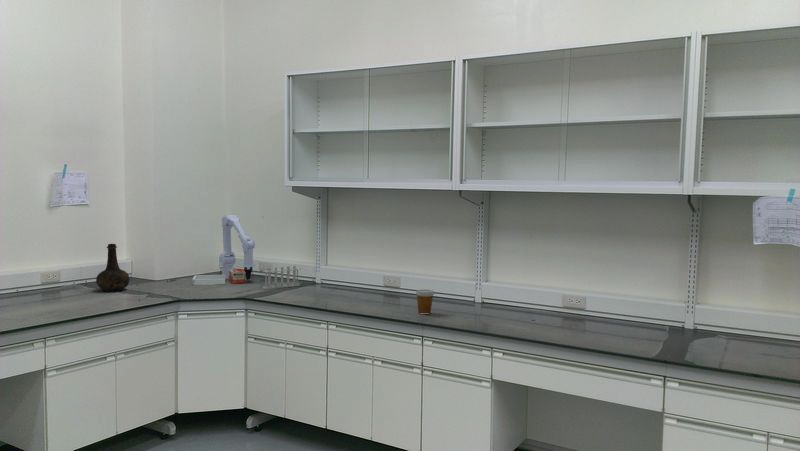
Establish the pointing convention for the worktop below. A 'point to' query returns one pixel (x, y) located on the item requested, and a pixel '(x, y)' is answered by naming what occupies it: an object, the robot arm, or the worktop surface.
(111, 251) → the glass bottle
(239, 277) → the medicine box
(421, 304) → the disposable coffee cup
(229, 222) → the robot arm
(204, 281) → the bin
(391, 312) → the worktop surface
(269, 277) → the test tube rack
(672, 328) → the worktop surface
